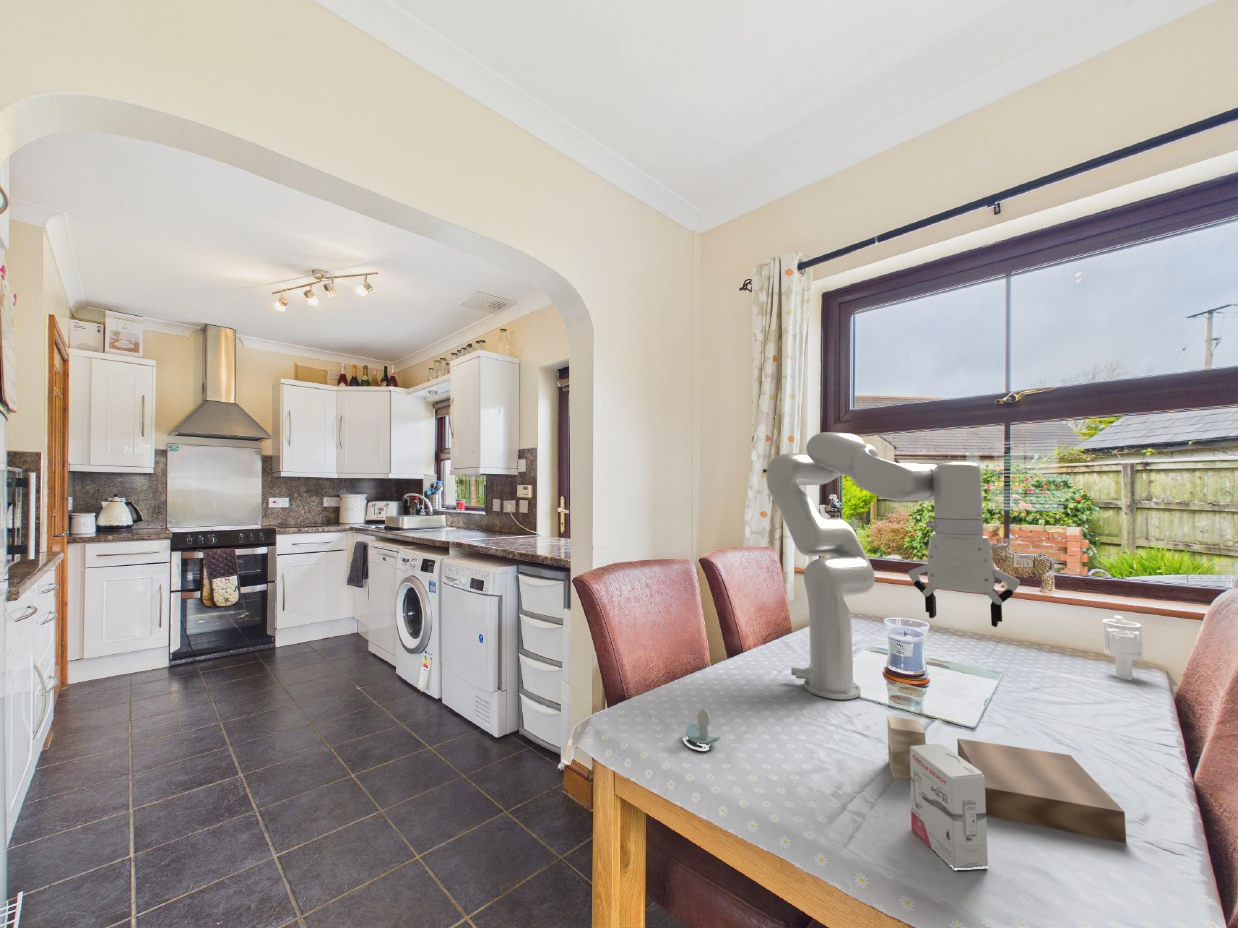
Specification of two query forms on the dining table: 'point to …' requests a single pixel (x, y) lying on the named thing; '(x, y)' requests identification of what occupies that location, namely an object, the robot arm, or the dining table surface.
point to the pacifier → (701, 729)
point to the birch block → (903, 744)
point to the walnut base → (1043, 790)
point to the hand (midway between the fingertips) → (962, 620)
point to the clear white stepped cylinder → (1123, 645)
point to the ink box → (948, 805)
